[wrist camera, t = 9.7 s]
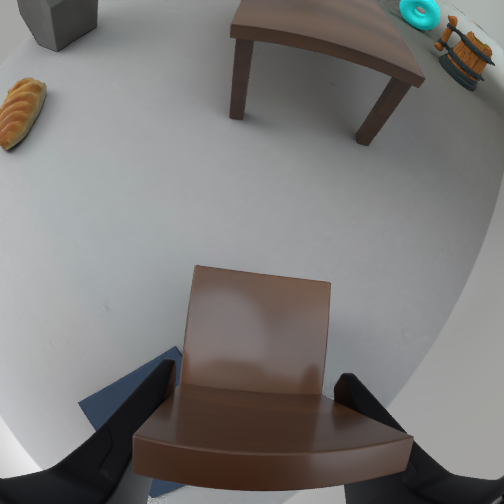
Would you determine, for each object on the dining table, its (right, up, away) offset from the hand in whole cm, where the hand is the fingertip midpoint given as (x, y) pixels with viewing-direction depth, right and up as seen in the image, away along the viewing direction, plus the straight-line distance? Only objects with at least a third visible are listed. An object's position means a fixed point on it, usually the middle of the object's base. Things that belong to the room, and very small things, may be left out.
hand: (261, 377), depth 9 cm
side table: (+5, +26, +17) cm, 32 cm away
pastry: (-27, +20, +12) cm, 36 cm away
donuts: (+39, +60, +32) cm, 79 cm away
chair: (-1, -1, +7) cm, 7 cm away
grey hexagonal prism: (-31, +40, +17) cm, 54 cm away
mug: (+40, +41, +26) cm, 63 cm away
